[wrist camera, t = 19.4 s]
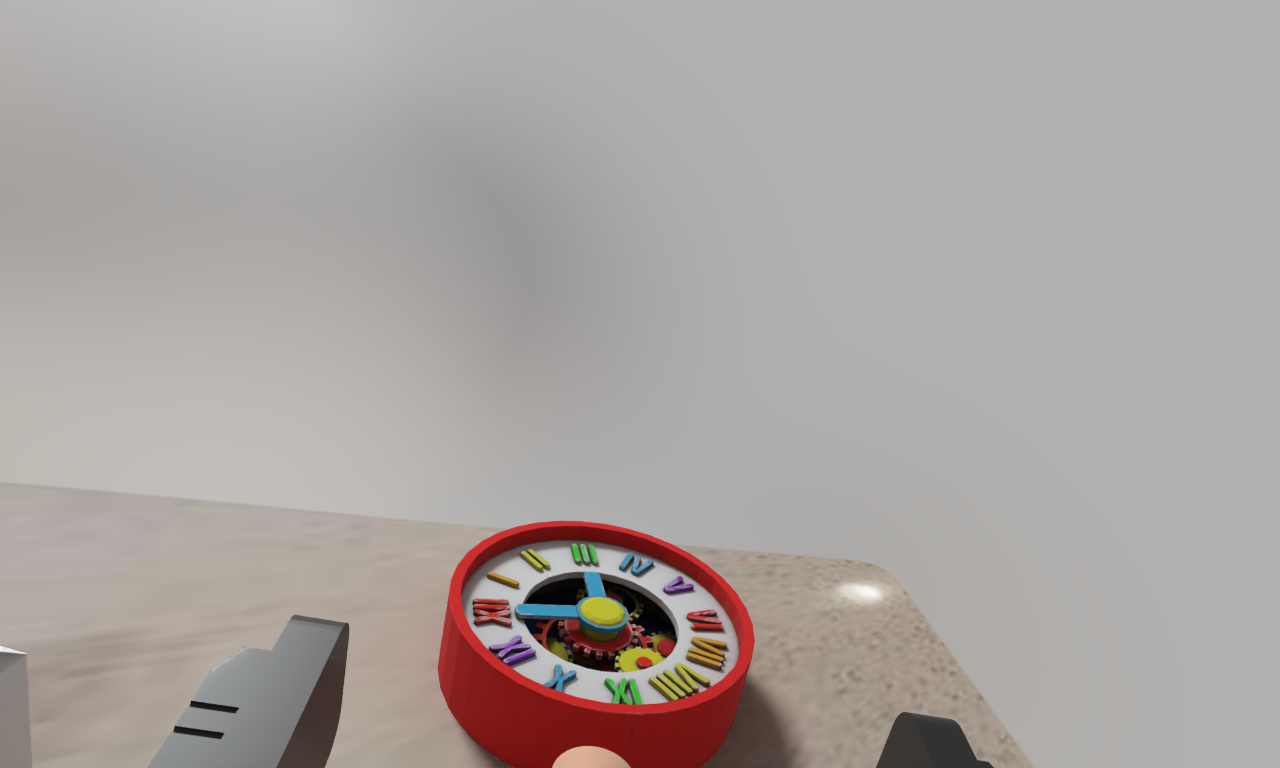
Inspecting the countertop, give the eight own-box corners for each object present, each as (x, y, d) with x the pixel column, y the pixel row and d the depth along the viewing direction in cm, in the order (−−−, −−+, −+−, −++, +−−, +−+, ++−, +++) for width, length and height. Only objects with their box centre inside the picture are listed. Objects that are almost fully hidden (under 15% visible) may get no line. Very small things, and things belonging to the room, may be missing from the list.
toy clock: (802, 714, 51) (452, 713, 45) (776, 790, 53) (438, 798, 47) (705, 529, 68) (446, 512, 63) (688, 591, 71) (436, 579, 65)
